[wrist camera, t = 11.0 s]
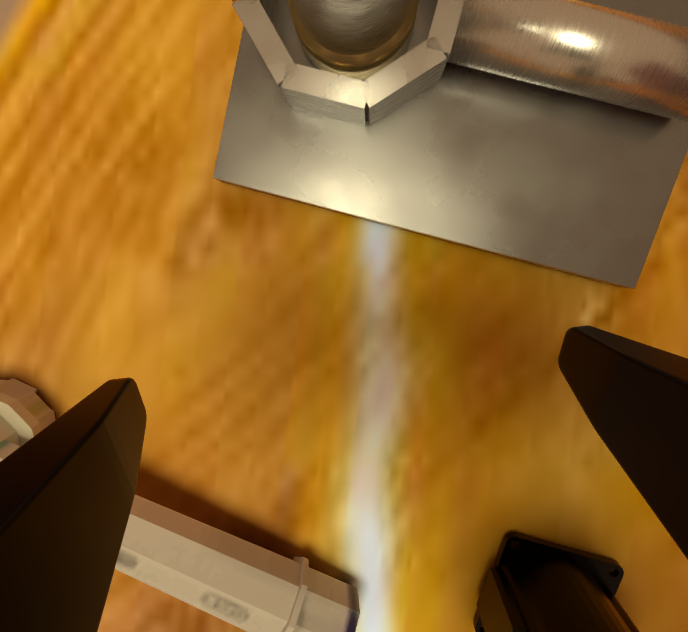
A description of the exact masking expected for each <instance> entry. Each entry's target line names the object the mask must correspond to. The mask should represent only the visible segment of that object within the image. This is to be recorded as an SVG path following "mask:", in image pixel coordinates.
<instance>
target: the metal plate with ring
mask: <svg viewBox="0 0 688 632" xmlns="http://www.w3.org/2000/svg"><path fill="white" fill-rule="evenodd" d="M232 1H233V4H232V5H233V7H234V9H235V10H236V12H237V14H238V16H239V17H240V19H241V21H242V23H243V25H244V27H243V32H242V37H241V42H240V47H239V52H238V57H237V62H236V67H235V72H234V77H233V82H232V87H231V92H230V97H229V102H228V107H227V112H226V117H225V122H224V127H223V132H222V137H221V142H220V147H219V151H218V156H217V161H216V166H215V171H214V176H213V178H215V179H217V180H219V181H221V182H224V183H228V184H232V185H236V186H239V187H243V188H247V189H251V190H254V191H258V192H262V193H266V194H270V195H273V196H277V197H281V198H285V199H289V200H292V201H296V202H300V203H304V204H308V205H311V206H315V207H319V208H323V209H327V210H330V211H334V212H338V213H342V214H346V215H349V216H353V217H357V218H361V219H365V220H368V221H372V222H376V223H380V224H384V225H387V226H391V227H395V228H399V229H403V230H406V231H410V232H414V233H418V234H422V235H425V236H429V237H433V238H437V239H441V240H444V241H448V242H452V243H456V244H460V245H463V246H467V247H471V248H475V249H479V250H482V251H486V252H490V253H494V254H497V255H501V256H505V257H509V258H513V259H516V260H520V261H524V262H528V263H532V264H535V265H539V266H543V267H547V268H551V269H554V270H558V271H562V272H566V273H570V274H573V275H577V276H581V277H585V278H589V279H592V280H596V281H600V282H604V283H608V284H611V285H615V286H619V287H625V288H633V289H635V286H636V284H637V281H638V279H639V276H640V273H641V271H642V268H643V265H644V263H645V260H646V257H647V255H648V252H649V250H650V247H651V244H652V242H653V239H654V236H655V234H656V231H657V229H658V226H659V223H660V221H661V218H662V215H663V213H664V210H665V207H666V205H667V202H668V200H669V197H670V194H671V192H672V189H673V186H674V184H675V181H676V179H677V176H678V173H679V171H680V168H681V165H682V163H683V160H684V157H685V155H686V152H687V150H688V0H419V2H418V8H417V13H416V19H415V24H414V29H413V32H412V36H411V38H410V41H409V43H408V45H407V47H406V49H405V51H404V52H403V53H402V55H401V56H400V58H398V59H397V60H395V61H394V62H392V63H391V64H389V65H387V66H386V67H384V68H383V69H381V70H380V71H378V72H377V73H375V74H374V75H372V76H371V77H369V78H367V79H364V80H358V79H354V78H350V77H346V76H342V75H338V74H334V73H330V72H326V71H323V70H320V69H319V68H318V67H317V66H315V65H314V63H313V62H312V61H311V60H310V59H309V58H308V56H307V55H306V53H305V52H304V50H303V48H302V46H301V43H300V41H299V38H298V35H297V32H296V29H295V26H294V24H293V21H292V18H291V14H290V10H289V6H288V0H232Z"/></svg>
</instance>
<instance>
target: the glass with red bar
mask: <svg viewBox="0 0 688 632" xmlns="http://www.w3.org/2000/svg"><path fill="white" fill-rule="evenodd" d="M418 2H419V0H288V6H289V10H290V14H291V18H292V21H293V24H294V26H295V29H296V32H297V35H298V38H299V41H300V43H301V46H302V48H303V50H304V52H305V53H306V55H307V56H308V58H309V59H310V60H311V61H312V62H313V63H314V65H315V66H317V67H318V68H319V69H320V70H323V71H326V72H330V73H334V74H338V75H342V76H346V77H350V78H354V79H358V80H364V79H367V78H369V77H371V76H372V75H374V74H375V73H377V72H378V71H380V70H381V69H383V68H384V67H386V66H387V65H389V64H391V63H392V62H394V61H395V60H397V59H398V58H400V56H401V55H402V53H403V52H404V51H405V49H406V47H407V45H408V43H409V41H410V38H411V36H412V32H413V29H414V24H415V19H416V13H417V8H418Z"/></svg>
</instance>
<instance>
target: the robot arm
mask: <svg viewBox="0 0 688 632" xmlns="http://www.w3.org/2000/svg"><path fill="white" fill-rule="evenodd" d="M558 364H559V368H560V370H561V372H562V374H563V375H564V377H565V379H566V381H567V382H568V384H569V386H570V388H571V389H572V391H573V393H574V395H575V396H576V398H577V400H578V402H579V403H580V405H581V407H582V408H583V410H584V412H585V414H586V415H587V417H588V419H589V420H590V422H591V424H592V425H593V427H594V429H595V430H596V432H597V433H598V434H599V436H600V437H601V439H602V440H603V442H604V443H605V444H606V446H607V447H608V449H609V450H610V451H611V453H612V454H613V456H614V457H615V458H616V460H617V461H618V463H619V464H620V465H621V467H622V468H623V470H624V471H625V472H626V474H627V475H628V477H629V478H630V479H631V481H632V482H633V484H634V485H635V486H636V488H637V489H638V491H639V492H640V493H641V495H642V496H643V498H644V499H645V500H646V502H647V503H648V505H649V506H650V507H651V509H652V510H653V512H654V513H655V514H656V516H657V517H658V519H659V520H660V521H661V523H662V524H663V526H664V527H665V528H666V530H667V531H668V533H669V534H670V535H671V537H672V538H673V540H674V541H675V542H676V544H677V545H678V547H679V548H680V549H681V551H682V552H683V554H684V555H685V556H686V558H687V559H688V359H687V358H684V357H681V356H678V355H675V354H672V353H669V352H666V351H663V350H660V349H657V348H654V347H651V346H648V345H645V344H642V343H639V342H636V341H633V340H630V339H627V338H624V337H621V336H618V335H615V334H612V333H609V332H606V331H603V330H600V329H597V328H594V327H591V326H579V327H572V328H570V329H568V330H567V332H566V334H565V337H564V340H563V344H562V347H561V351H560V354H559V358H558ZM145 427H146V410H145V407H144V404H143V401H142V398H141V395H140V393H139V390H138V387H137V384H136V382H135V381H134V379H132V378H121V379H112V380H109V381H107V382H106V383H104V384H103V385H102V386H100V387H99V388H98V389H96V390H95V391H94V392H92V393H91V394H90V395H88V396H87V397H86V398H84V399H83V400H82V401H80V402H79V403H78V404H76V405H75V406H74V407H72V408H71V409H70V410H68V411H67V412H66V413H64V414H63V415H62V416H60V417H59V418H58V419H56V420H55V421H54V422H52V423H51V424H50V425H48V426H47V427H46V428H44V429H43V430H42V431H40V432H39V433H38V434H36V435H35V436H34V437H32V438H31V439H30V440H28V441H27V442H26V443H24V444H23V445H22V446H20V447H19V448H18V449H16V450H15V451H14V452H12V453H11V454H10V455H8V456H7V457H6V458H4V459H3V460H2V461H0V632H97V631H98V627H99V624H100V620H101V617H102V613H103V609H104V606H105V602H106V599H107V595H108V591H109V588H110V584H111V580H112V577H113V573H114V570H115V566H116V562H117V559H118V555H119V552H120V548H121V544H122V541H123V537H124V534H125V530H126V526H127V523H128V519H129V515H130V512H131V508H132V504H133V500H134V496H135V491H136V486H137V480H138V473H139V467H140V460H141V453H142V447H143V440H144V434H145ZM513 541H517V543H516V544H511V543H512V542H513ZM612 569H614V570H613V571H611V572H610V570H612ZM623 574H624V572H623V569H622V568H621V566H620V565H619V564H618V563H617V561H615V560H612V559H609V558H605V557H601V556H598V555H594V554H591V553H587V552H584V551H580V550H576V549H573V548H569V547H566V546H562V545H559V544H555V543H551V542H548V541H544V540H541V539H537V538H534V537H530V536H526V535H523V534H519V533H516V532H510V533H508V534H506V535H505V537H504V539H503V542H502V544H501V547H500V550H499V553H498V555H497V558H496V561H495V564H494V565H493V566H492V567H491V568H490V569H489V571H488V574H487V577H486V580H485V582H484V585H483V588H482V591H481V593H480V596H479V599H478V602H477V608H478V610H477V613H476V616H475V618H474V622H473V624H474V628H475V631H476V632H639V630H638V629H637V628H636V626H635V625H634V623H633V622H632V620H631V619H630V618H629V616H628V615H627V613H626V612H625V611H624V609H623V608H622V606H621V605H620V603H619V602H618V601H617V599H616V598H615V594H616V591H617V589H618V587H619V584H620V582H621V580H622V577H623ZM482 625H483V627H481V626H482Z"/></svg>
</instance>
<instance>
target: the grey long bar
mask: <svg viewBox="0 0 688 632" xmlns="http://www.w3.org/2000/svg"><path fill="white" fill-rule="evenodd" d="M37 390H38V389H36V388H34V387H32V386H29V385H27V384H25V383H23V382H21V381H18V380H16V379H14V378H12V379H10V380H0V461H2V460H3V459H4V458H6V457H7V456H8V455H10V454H11V453H12V452H14V451H15V450H16V449H18V448H19V447H20V446H22V445H23V444H24V443H26V442H27V441H28V440H30V439H31V438H32V437H34V436H35V435H36V434H38V433H39V432H40V431H42V430H43V429H44V428H46V427H47V426H48V425H50V424H51V423H52V422H54V421H55V420H56V419H55V414H54V409H50V408H49V407H48V406H47V405H46V404H45V403H44V402H43V401H42V399H41V398H40V397H39V396H38V395H37V394H36V393H37ZM308 566H309V559H307V558H305V557H294V559H293V560H291V559H289V558H286V557H284V556H281V555H279V554H277V553H274V552H272V551H270V550H267V549H265V548H262V547H260V546H258V545H255V544H253V543H250V542H248V541H246V540H243V539H241V538H238V537H236V536H234V535H231V534H229V533H226V532H224V531H222V530H219V529H217V528H214V527H212V526H210V525H207V524H205V523H202V522H200V521H198V520H195V519H193V518H190V517H188V516H186V515H183V514H181V513H178V512H176V511H174V510H171V509H169V508H166V507H164V506H162V505H159V504H157V503H155V502H152V501H150V500H147V499H145V498H143V497H140V496H138V495H135V496H134V500H133V504H132V508H131V512H130V515H129V519H128V523H127V526H126V530H125V534H124V537H123V541H122V544H121V548H120V552H119V555H118V559H117V562H116V566H115V569H116V570H118V571H121V572H123V573H125V574H127V575H129V576H131V577H133V578H135V579H137V580H139V581H142V582H144V583H146V584H148V585H150V586H152V587H154V588H156V589H158V590H161V591H163V592H165V593H167V594H169V595H171V596H173V597H175V598H177V599H180V600H182V601H184V602H186V603H188V604H190V605H192V606H194V607H196V608H199V609H201V610H203V611H205V612H207V613H209V614H211V615H213V616H215V617H218V618H220V619H222V620H224V621H226V622H228V623H230V624H232V625H234V626H236V627H239V628H241V629H243V630H245V631H247V632H355V631H356V626H357V622H358V618H359V614H360V608H359V598H358V589H357V588H356V587H354V586H351V585H349V584H347V583H345V582H342V581H340V580H338V579H335V578H333V577H331V576H328V575H326V574H324V573H321V572H319V571H317V570H314V569H312V568H310V567H308Z"/></svg>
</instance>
